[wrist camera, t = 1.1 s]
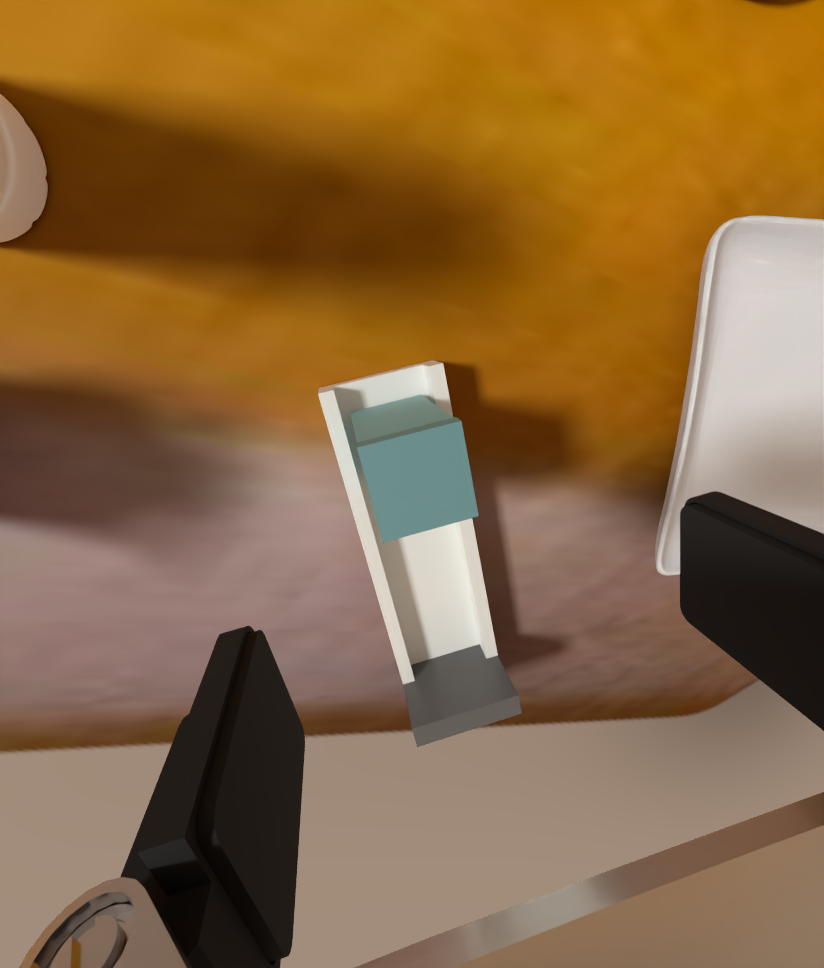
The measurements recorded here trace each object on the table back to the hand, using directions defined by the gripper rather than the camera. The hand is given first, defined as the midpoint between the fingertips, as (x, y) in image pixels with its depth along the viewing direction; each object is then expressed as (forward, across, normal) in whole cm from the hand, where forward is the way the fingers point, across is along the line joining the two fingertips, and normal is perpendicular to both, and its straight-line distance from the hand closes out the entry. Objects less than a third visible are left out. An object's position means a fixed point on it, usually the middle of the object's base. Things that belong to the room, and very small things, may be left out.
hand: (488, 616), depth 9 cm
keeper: (+17, 0, 0) cm, 17 cm away
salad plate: (+18, -27, +5) cm, 33 cm away
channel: (+18, 0, +7) cm, 19 cm away
